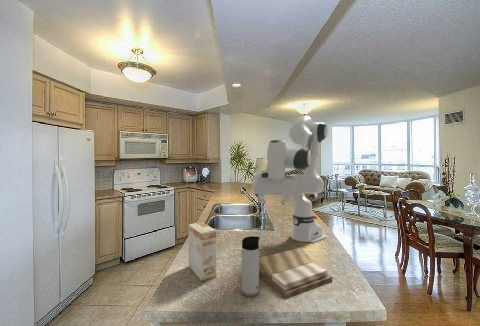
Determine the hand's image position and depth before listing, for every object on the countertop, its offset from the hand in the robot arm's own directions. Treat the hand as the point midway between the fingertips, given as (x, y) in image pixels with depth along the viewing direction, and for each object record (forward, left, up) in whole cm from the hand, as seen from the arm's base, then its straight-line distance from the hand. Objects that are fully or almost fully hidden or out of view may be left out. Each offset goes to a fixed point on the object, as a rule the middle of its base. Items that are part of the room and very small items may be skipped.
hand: (273, 204), depth 104 cm
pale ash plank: (-1, +17, -27) cm, 31 cm away
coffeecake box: (+31, -10, -28) cm, 43 cm away
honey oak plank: (-1, +8, -24) cm, 25 cm away
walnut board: (-1, +12, -28) cm, 31 cm away
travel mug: (+20, +13, -28) cm, 37 cm away
